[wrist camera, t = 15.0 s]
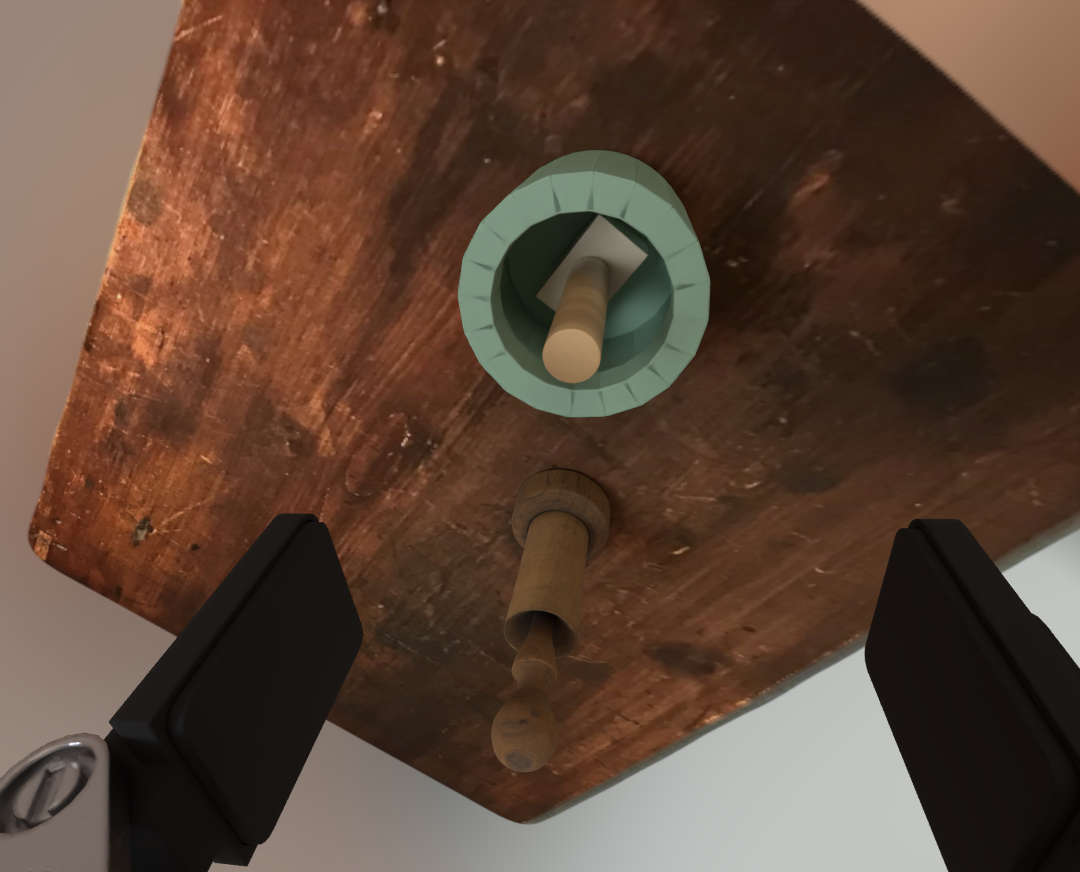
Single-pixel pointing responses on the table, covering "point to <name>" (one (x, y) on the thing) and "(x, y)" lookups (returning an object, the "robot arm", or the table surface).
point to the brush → (587, 294)
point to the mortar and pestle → (546, 604)
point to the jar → (632, 313)
